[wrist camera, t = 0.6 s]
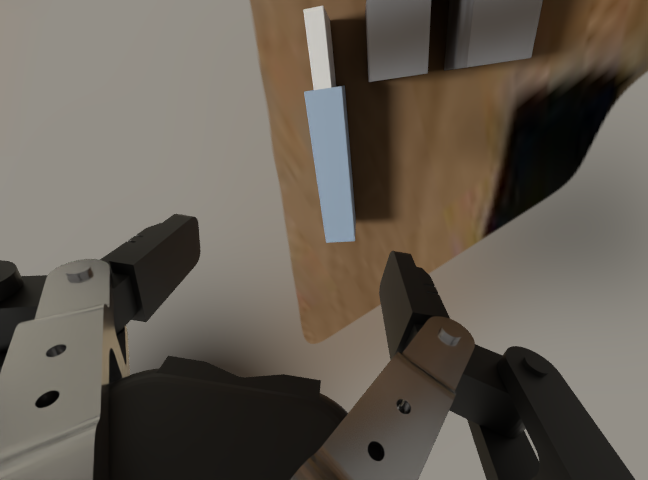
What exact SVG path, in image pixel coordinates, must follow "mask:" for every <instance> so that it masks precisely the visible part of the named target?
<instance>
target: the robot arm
mask: <svg viewBox="0 0 648 480" xmlns="http://www.w3.org/2000/svg"><path fill="white" fill-rule="evenodd" d="M199 257H200V240H199V227H198V221H197V219H196V217H192V216H186V215H179V214H174V215H173V216H171V217H170V218H168V219H167V220H165V221H164V222H163V223H159V224H157V225H154V226H151V227H148V228H146V229H144V230H143V231H142V232H140V233H139V234H137V236H134V237H133V238H131V239H130V240H129V241H128V242H125V243H124V244H122V245H121V246H120V247H118V248H117V249H115V250H114V251H112V252H111V253H109V254H108V255H106V256H105V257H103V258H102V259H100V260H97V259H84V260H78V261H73V262H70V263H66V264H64V265H61V266H60V267H58V268H56V269H54V270H53V271H51V272H50V273H49V274H48V275H47V276H46V275H45V276H21V275H20V273H19V271H18V269H17V267H16V265H15V264H13V263H12V262H9V261H1V260H0V480H418V479H419V476H420V474H421V472H422V469H423V467H424V465H425V463H426V461H427V459H428V456H429V454H430V452H431V450H432V447H433V445H434V443H435V441H436V438H437V436H438V434H439V432H440V429H441V427H442V425H443V423H444V420H445V418H446V416H447V414H448V412H449V410H450V411H452V412H454V413H456V414H458V415H460V416H462V417H464V418H466V419H467V420H468V423H469V426H470V429H471V432H472V436H473V439H474V442H475V445H476V448H477V451H478V454H479V457H480V461H481V464H482V467H483V470H484V473H485V476H486V479H487V480H635V479H634V477H633V476H632V474H631V473H630V471H629V470H628V469H627V467H626V466H625V464H624V463H623V462H622V460H621V459H620V457H619V456H618V455H617V453H616V452H615V450H614V449H613V447H612V446H611V445H610V443H609V442H608V441H607V439H606V438H605V436H604V435H603V434H602V432H601V431H600V429H599V428H598V427H597V425H596V424H595V422H594V421H593V419H592V418H591V416H590V415H589V414H588V412H587V411H586V410H585V408H584V407H583V405H582V404H581V402H580V401H579V400H578V398H577V397H576V395H575V394H574V393H573V391H572V390H571V388H570V387H569V386H568V384H567V383H566V381H565V380H564V378H563V377H562V376H561V374H560V373H559V372H558V370H557V369H556V368H555V367H554V366H553V365H552V364H551V363H550V362H549V361H547V360H546V359H545V358H543V357H542V356H540V355H539V354H537V353H535V352H533V351H531V350H529V349H526V348H523V347H517V346H515V347H514V346H513V347H510V348H508V349H507V350H506V352H505V353H504V355H503V356H502V355H500V354H497V353H495V352H492V351H490V350H488V349H485V348H482V347H480V346H478V345H476V344H475V342H474V339H473V337H472V335H471V334H470V333H469V331H468V330H467V329H466V328H465V327H463V326H462V325H461V324H459V323H457V322H456V321H454V320H452V319H450V318H449V315H448V313H447V311H446V309H445V307H444V305H443V303H442V300H441V298H440V296H439V295H438V292H437V290H436V288H435V287H434V283H433V281H432V279H431V277H430V276H429V275H428V274H427V273H426V272H425V271H424V270H423V269H422V268H419V267H416V265H415V263H414V260H413V258H412V255H411V254H408V253H402V252H396V251H392V252H391V253H390V255H389V258H388V261H387V264H386V267H385V270H384V273H383V277H382V280H381V283H380V291H379V294H380V301H381V307H382V313H383V319H384V324H385V330H386V336H387V342H388V348H389V353H390V359H391V361H390V362H389V363H388V364H387V366H386V367H385V368H384V369H383V371H382V372H381V373H380V374H379V376H378V377H377V378H376V379H375V381H374V382H373V383H372V384H371V386H370V387H369V388H368V389H367V391H366V392H365V393H364V394H363V396H362V397H361V398H360V399H359V401H358V402H357V403H356V404H355V406H354V407H353V408H352V409H351V411H350V412H349V413H347V412H346V411H345V410H344V409H343V408H342V407H341V406H340V405H339V404H337V403H336V402H335V401H333V400H332V399H330V398H328V397H327V396H325V395H323V394H321V393H320V383H321V381H320V380H314V379H308V378H302V377H296V376H290V375H284V374H283V375H271V376H259V377H246V378H243V377H238V376H236V375H234V374H231V373H229V372H227V371H225V370H223V369H220V368H218V367H216V366H214V365H211V364H209V363H207V362H203V361H196V360H191V359H185V358H178V357H172V356H168V357H167V358H166V360H165V361H164V363H163V364H162V366H161V367H160V368H159V369H152V370H146V371H142V372H139V373H136V374H132V375H130V365H129V351H128V332H127V328H126V324H127V323H128V322H129V321H130V320H137V321H143V322H147V321H148V320H149V318H150V317H151V316H152V315H153V314H154V312H155V311H156V310H157V309H158V308H159V307H160V305H162V303H163V302H164V301H165V300H166V299H167V298H168V296H169V295H170V294H171V293H172V292H173V291H174V290H175V288H176V287H177V286H178V285H179V284H180V283H181V281H182V280H183V279H184V278H185V277H186V276H187V275H188V273H189V272H190V271H191V270H192V269H193V268H194V266H195V265H196V264H197V262H198V260H199ZM525 429H526V430H527V432H528V434H529V436H530V438H531V440H532V442H533V444H534V446H535V448H536V450H537V453H538V456H539V461H538V459H537V457H536V455H535V453H534V450H533V448H532V446H531V444H530V442H529V440H528V438H527V436H526V434H525V432H524V430H525Z"/></svg>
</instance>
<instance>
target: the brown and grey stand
mask: <svg viewBox="0 0 648 480" xmlns="http://www.w3.org/2000/svg"><path fill="white" fill-rule="evenodd" d="M542 2H543V0H449V11H448V24H447V38H446V51H445V65H444V70H452V69H459V68H466V67H473V66H480V65H486V64H493V63H500V62H506V61H513V60H520V59H526V58H531V56H532V51H533V46H534V41H535V36H536V31H537V27H538V22H539V17H540V12H541V7H542ZM365 14H366V37H367V60H368V82H373V81H379V80H386V79H393V78H399V77H406V76H413V75H419V74H426V73H428V56H429V35H430V15H431V0H366V13H365Z"/></svg>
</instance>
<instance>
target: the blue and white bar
mask: <svg viewBox="0 0 648 480" xmlns="http://www.w3.org/2000/svg"><path fill="white" fill-rule="evenodd" d="M303 11H304V19H305V26H306V34H307V41H308V49H309V57H310V64H311V72H312V80H313V87H314V90H311V91H306V92H304V95H305V101H306V108H307V115H308V122H309V129H310V136H311V142H312V149H313V156H314V163H315V170H316V176H317V183H318V190H319V197H320V204H321V210H322V217H323V224H324V231H325V238H326V243H328V242H346V241H355V224H356V218H355V206H354V194H353V181H352V169H351V157H350V144H349V132H348V120H347V107H346V95H345V85H344V86H337V87H336V79H335V68H334V58H333V47H332V37H331V26H330V19H329V17H328V15H327V13H326V11H325V9H324V7H323V6H319V7H314V8H309V9H304V10H303Z"/></svg>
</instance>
